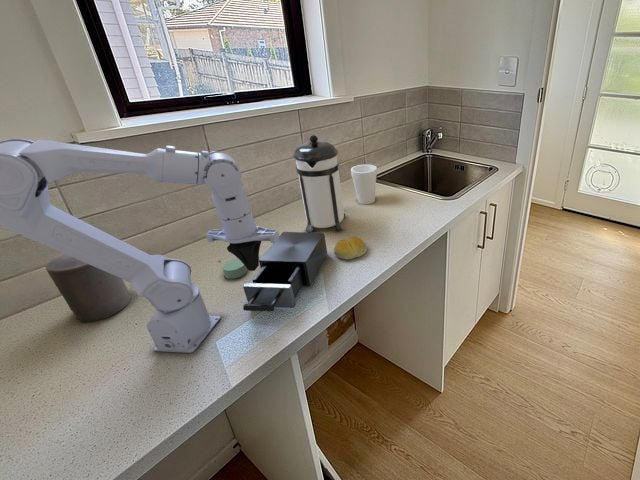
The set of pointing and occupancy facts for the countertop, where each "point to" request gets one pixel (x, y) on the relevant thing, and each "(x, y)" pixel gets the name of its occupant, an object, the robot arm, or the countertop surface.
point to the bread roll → (350, 248)
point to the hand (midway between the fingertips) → (253, 268)
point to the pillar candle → (88, 288)
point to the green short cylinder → (234, 269)
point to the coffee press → (320, 184)
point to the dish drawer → (274, 287)
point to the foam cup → (364, 182)
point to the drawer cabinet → (298, 252)
